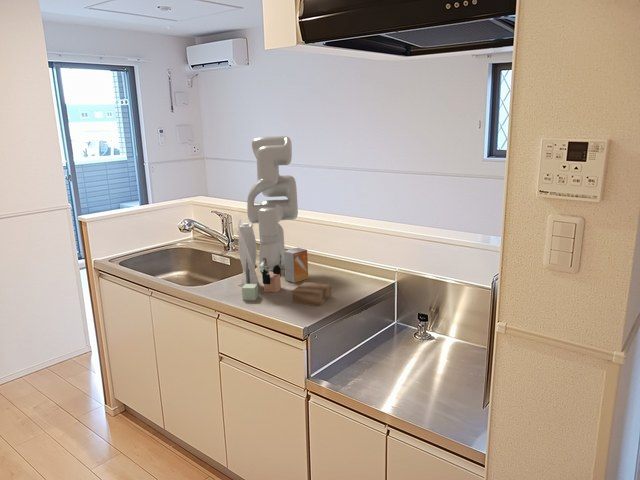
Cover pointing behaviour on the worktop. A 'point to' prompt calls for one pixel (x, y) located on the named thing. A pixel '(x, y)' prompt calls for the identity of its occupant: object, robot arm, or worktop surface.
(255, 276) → the skyscraper
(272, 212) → the robot arm
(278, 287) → the terracotta block
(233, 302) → the worktop surface
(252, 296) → the sage cube
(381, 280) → the worktop surface
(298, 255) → the small box
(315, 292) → the walnut block
